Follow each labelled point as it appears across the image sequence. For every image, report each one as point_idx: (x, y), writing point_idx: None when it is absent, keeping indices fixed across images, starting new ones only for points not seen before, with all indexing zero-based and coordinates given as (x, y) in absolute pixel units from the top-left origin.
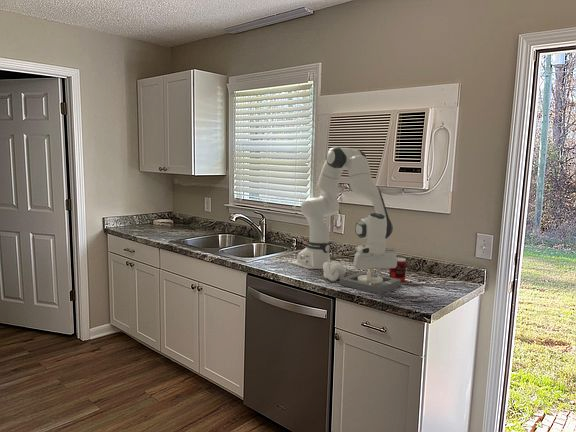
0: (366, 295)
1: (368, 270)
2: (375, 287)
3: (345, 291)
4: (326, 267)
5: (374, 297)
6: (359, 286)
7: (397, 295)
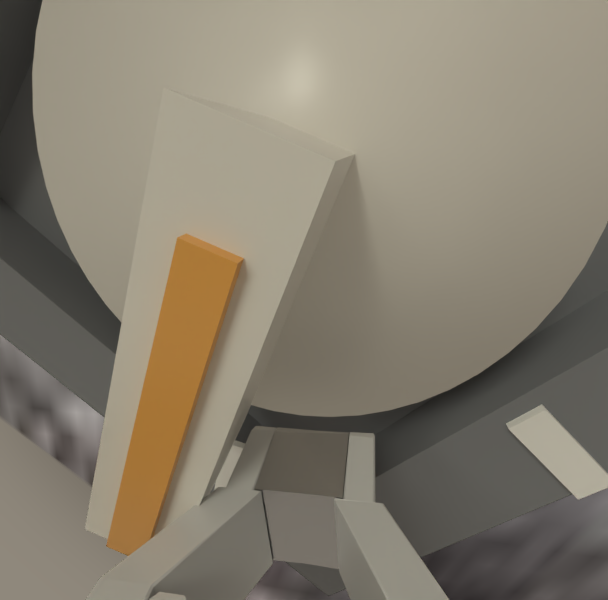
0: None
1: (128, 309)
2: None
3: (26, 411)
4: None
5: None
6: None
7: (510, 572)
